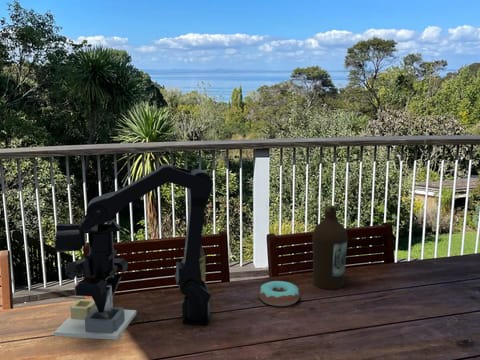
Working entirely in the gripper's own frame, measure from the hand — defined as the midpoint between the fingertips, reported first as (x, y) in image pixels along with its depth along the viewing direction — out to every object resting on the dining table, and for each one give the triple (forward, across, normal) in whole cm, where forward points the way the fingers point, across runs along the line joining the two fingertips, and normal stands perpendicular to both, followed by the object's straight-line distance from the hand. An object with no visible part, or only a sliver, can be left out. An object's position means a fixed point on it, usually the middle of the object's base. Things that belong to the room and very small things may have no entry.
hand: (104, 308), depth 118 cm
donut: (+6, -23, +43) cm, 49 cm away
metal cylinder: (+3, 0, 0) cm, 3 cm away
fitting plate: (+6, -2, -3) cm, 7 cm away
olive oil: (+6, -36, +58) cm, 68 cm away
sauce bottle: (+6, -24, +18) cm, 30 cm away
